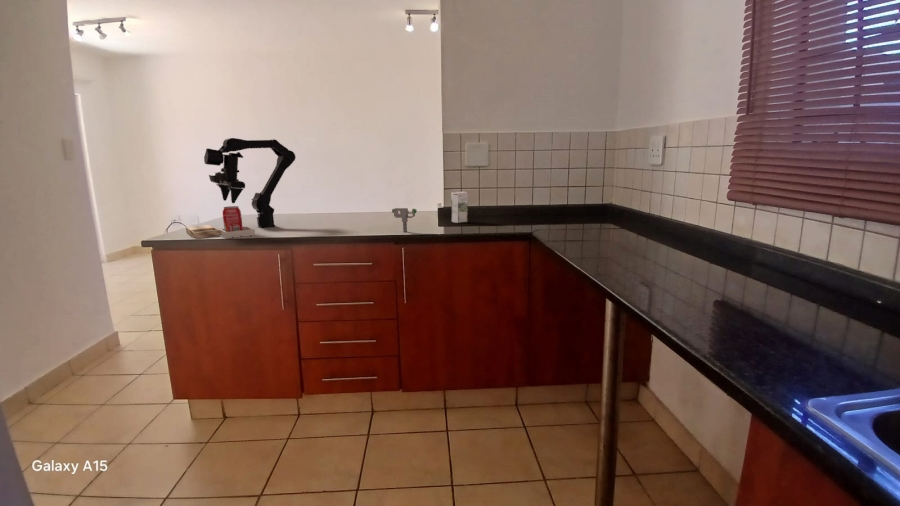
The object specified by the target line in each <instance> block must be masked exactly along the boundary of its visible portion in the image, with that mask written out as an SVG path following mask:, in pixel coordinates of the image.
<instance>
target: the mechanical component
mask: <svg viewBox="0 0 900 506" xmlns="http://www.w3.org/2000/svg"><path fill="white" fill-rule="evenodd" d="M417 211H418V209H416V208H412V209H411V212H410V211H409V210H408V208H407V207H406V208H405V207H402V208H401V207H395V208H392V209H391V212H392V213H393V217H394V218H395V219H396V218H397V219H401V222H402V229H403V231H402V232H403V233H407V232H408V226H407V225H408V219H412V218H414V217H416V213H417ZM409 215H411V216H409Z"/></svg>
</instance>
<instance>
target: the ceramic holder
mask: <svg viewBox="0 0 900 506" xmlns="http://www.w3.org/2000/svg"><path fill="white" fill-rule="evenodd" d="M218 230H219V232H220V235H221V237H222V236H223V237H222V238H224V239H232V237H234V238H241V237H240V236H243V237H249V236H250V235H252V236H256V230H255V228H252V227H250V226H243V230H241V231H231V232H226V231H225V229H224V228H218ZM250 237H251V236H250Z"/></svg>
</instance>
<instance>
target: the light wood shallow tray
mask: <svg viewBox="0 0 900 506" xmlns="http://www.w3.org/2000/svg"><path fill="white" fill-rule="evenodd" d="M185 230H186V234H187V235H189V234H190V235H191V236H190V235H189V236H190V237H192V238H193V239H194V238H195V239H200V238H199V237H204V238H210V237H209V236H214V237H220V232H219V228H217V227H215V226H214V225H211V224H208V225H207V224H206V225H195V226H186V227H185Z"/></svg>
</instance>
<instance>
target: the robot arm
mask: <svg viewBox="0 0 900 506" xmlns="http://www.w3.org/2000/svg"><path fill="white" fill-rule="evenodd" d="M247 149H271V150H272V152H273V153H274V154H275V155H276V156H277V158H276V165H275V167H274V169H273V171H272V172H271V175H270V176H269V178H268V179H267V182H266V183H265V185H264V187H262V188H263V189H262V190H261V191H260V192H255V193H254V196H253V198H252V199H251V207H252V209H254V210H255V211H256V213H257V217H256V223H257V227H259V228H269V227H276V224H275V221H274V220H275V219H274V213H275V208H273V207H272V206H271V205H270V204H271V199H272V195H273V193H274V191H275V189H276V187H277V186H278V184H279V182H280V181H281V178H282V177H283V175H284V173H285V172H286V170H287V169H289V167H291V166H292V164H293V163H294V162H295V161H296V154H295V153H294V151H293V150H289V149H288V148H287V147H286V146H284V144H282V143H280V142H279V141H278V140H277V139H274V138H273V139H256V140H254V139H251V140H247V139H241V138H235V137H231V138H226V139H224V140H223V141H222V146H221V147H220V148H219V149H212V148H208V147H207V148H206V149H205V153H204V156H203V161H204V165H207V166H208V165H209V166H211V165H212V166H218V167H219V166H221V164H223V167H222V168H220V171H218V172H213V173H209V174H208V177H209V181H210V182H212V183H215V184H216V186H217V187H218V188H219V189H220V191H221V196H222V200H223V201H224V202H225V201H227V199H228V198H229V195H230V201H231V204H235V203H236V201H237V200H238V198H239V197H240V194H241V193H242V192H243V191H244V189H245V188H246V183H245V182H244V181H241V180H239V179H238V173H240V170H239V158H241V159H243V158H244V155H242V154H241V152H240V151H243V150H247ZM235 152H236V153H235ZM227 153H228V154H227Z"/></svg>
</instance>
